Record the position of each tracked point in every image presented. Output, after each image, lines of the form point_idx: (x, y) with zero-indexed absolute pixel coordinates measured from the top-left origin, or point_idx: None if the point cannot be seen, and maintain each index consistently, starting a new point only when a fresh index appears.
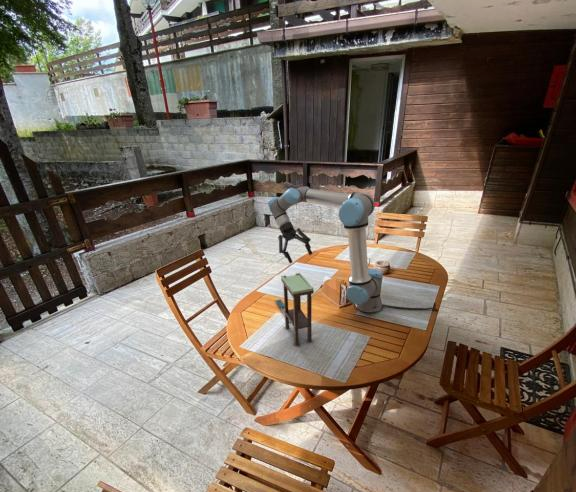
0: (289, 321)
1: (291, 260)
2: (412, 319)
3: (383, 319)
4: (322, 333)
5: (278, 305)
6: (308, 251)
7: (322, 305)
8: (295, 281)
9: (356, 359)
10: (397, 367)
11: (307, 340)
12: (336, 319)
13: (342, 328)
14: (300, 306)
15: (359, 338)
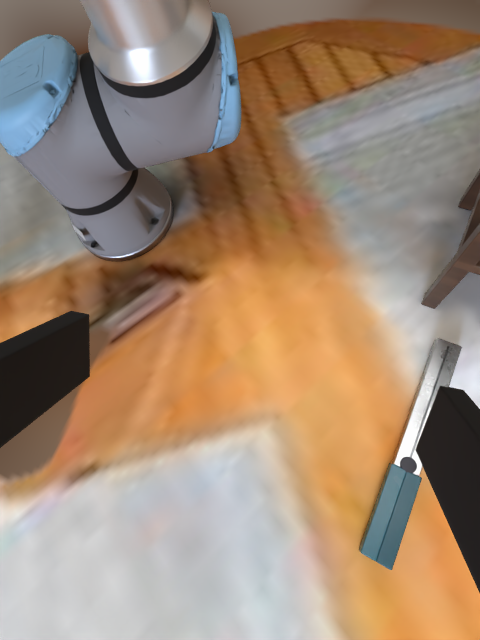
0: (455, 346)
1: (462, 401)
2: None
3: None
4: (389, 208)
5: (408, 512)
6: (52, 386)
7: (232, 340)
8: None
9: (400, 78)
10: (340, 23)
11: (472, 207)
12: (278, 234)
13: (308, 187)
14: (470, 237)
15: (312, 128)
